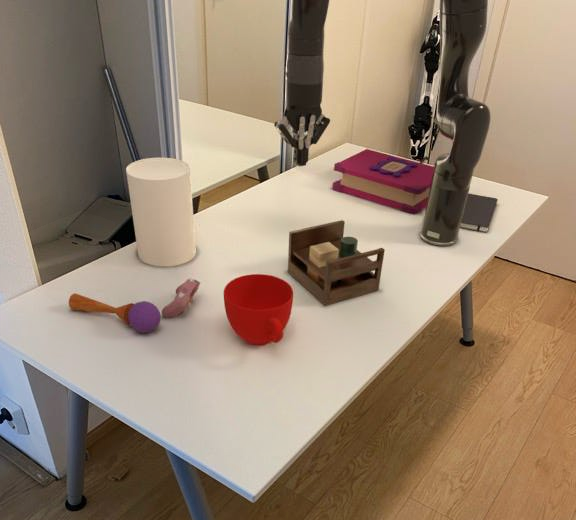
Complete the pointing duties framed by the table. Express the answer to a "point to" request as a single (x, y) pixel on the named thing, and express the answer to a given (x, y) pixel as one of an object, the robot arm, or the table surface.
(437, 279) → the table surface
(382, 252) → the rack
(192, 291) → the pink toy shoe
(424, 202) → the book
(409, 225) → the table surface
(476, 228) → the notebook
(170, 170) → the canister
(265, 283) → the ceramic cup
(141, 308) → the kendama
